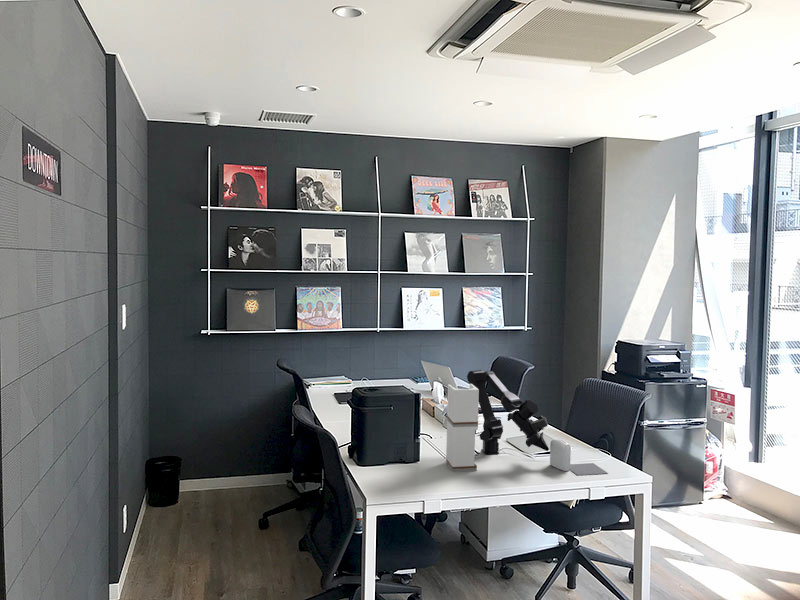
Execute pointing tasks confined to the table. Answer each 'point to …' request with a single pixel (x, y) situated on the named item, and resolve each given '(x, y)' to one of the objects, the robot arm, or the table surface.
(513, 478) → the table surface
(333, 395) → the table surface
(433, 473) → the table surface
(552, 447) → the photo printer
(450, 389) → the stacked white pillar
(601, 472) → the mat
